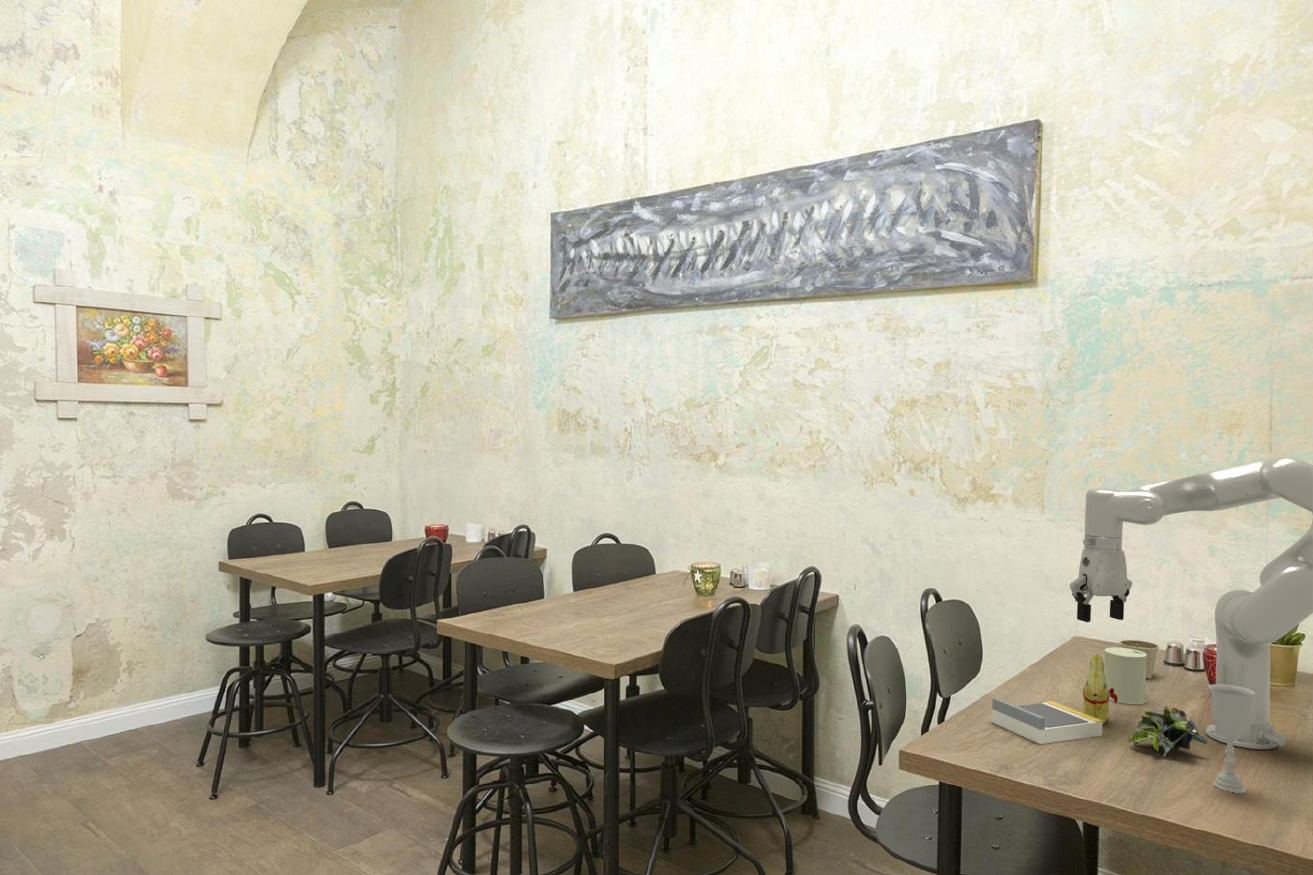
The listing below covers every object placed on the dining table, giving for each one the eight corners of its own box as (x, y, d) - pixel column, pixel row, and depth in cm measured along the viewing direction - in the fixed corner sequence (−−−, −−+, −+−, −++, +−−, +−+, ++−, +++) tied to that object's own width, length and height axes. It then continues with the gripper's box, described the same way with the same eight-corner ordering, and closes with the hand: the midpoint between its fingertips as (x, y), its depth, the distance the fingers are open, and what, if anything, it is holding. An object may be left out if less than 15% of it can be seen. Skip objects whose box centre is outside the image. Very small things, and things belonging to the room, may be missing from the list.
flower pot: (1123, 679, 227) (1123, 646, 227) (1115, 669, 236) (1115, 638, 236) (1163, 682, 224) (1163, 649, 224) (1153, 673, 233) (1154, 641, 233)
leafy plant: (1174, 775, 176) (1216, 734, 173) (1165, 782, 168) (1209, 738, 165) (1125, 733, 183) (1165, 692, 180) (1115, 737, 174) (1156, 694, 172)
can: (1154, 705, 205) (1155, 655, 205) (1115, 704, 205) (1116, 654, 205) (1133, 693, 214) (1134, 645, 214) (1096, 692, 214) (1097, 644, 214)
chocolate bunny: (1081, 726, 190) (1082, 658, 189) (1084, 712, 199) (1086, 647, 199) (1116, 731, 186) (1117, 663, 186) (1118, 717, 196) (1119, 652, 195)
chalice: (1235, 779, 161) (1237, 684, 161) (1262, 795, 154) (1264, 695, 154) (1197, 779, 161) (1199, 684, 160) (1222, 795, 154) (1224, 695, 154)
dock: (1102, 735, 184) (1102, 710, 184) (1040, 744, 178) (1040, 718, 178) (1051, 714, 197) (1051, 691, 197) (992, 722, 191) (992, 698, 191)
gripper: (1087, 547, 186) (1084, 625, 186) (1146, 545, 192) (1143, 621, 192) (1059, 542, 193) (1057, 618, 193) (1117, 540, 199) (1115, 614, 199)
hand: (1100, 619), depth 193 cm, fingers open, 9 cm apart
